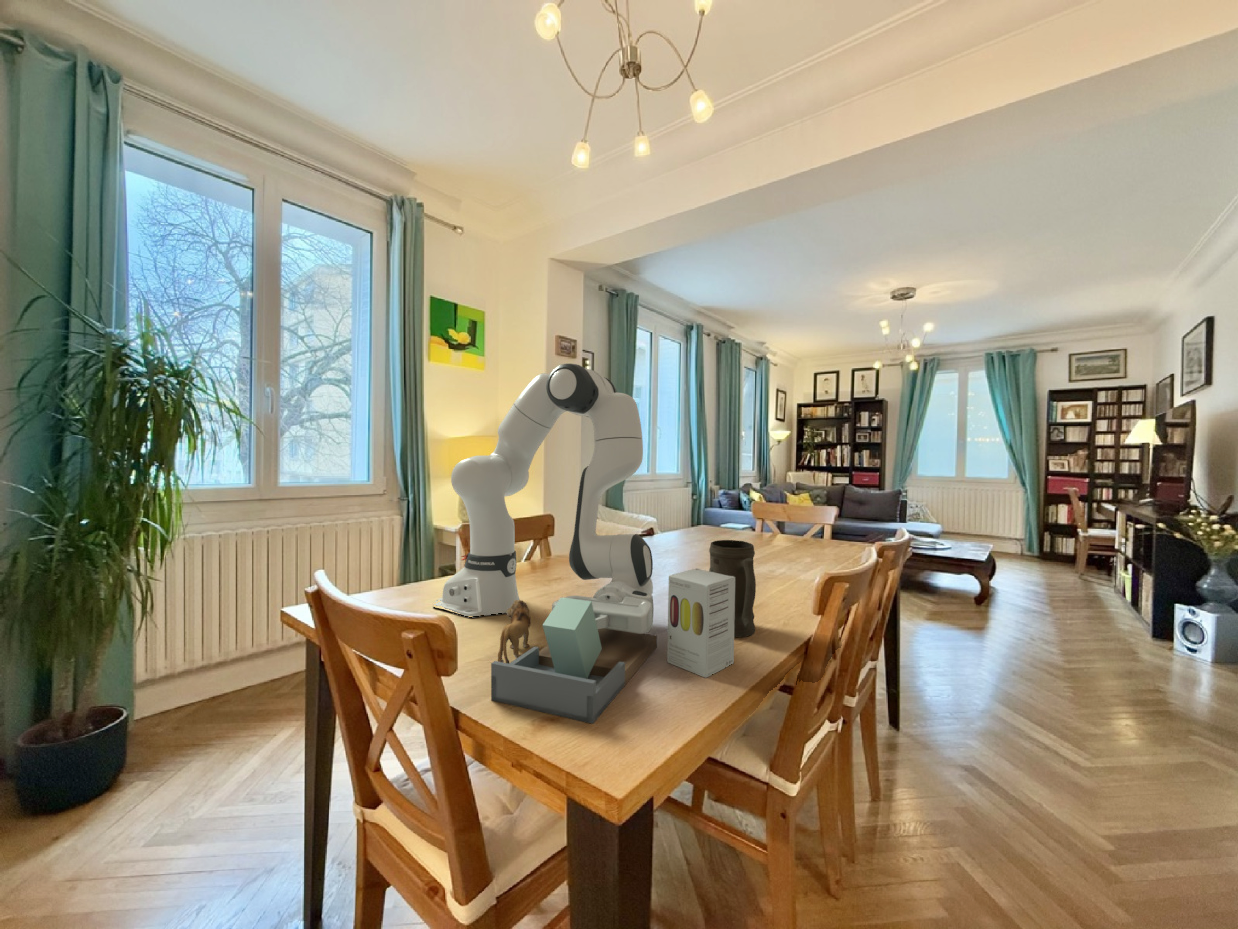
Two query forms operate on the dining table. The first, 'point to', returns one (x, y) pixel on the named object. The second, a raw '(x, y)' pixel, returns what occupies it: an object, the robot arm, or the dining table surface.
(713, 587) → the supplement box
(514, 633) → the lion figurine
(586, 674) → the sage block
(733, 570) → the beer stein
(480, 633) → the dining table surface
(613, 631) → the brown wooden board
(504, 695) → the box
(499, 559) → the robot arm
